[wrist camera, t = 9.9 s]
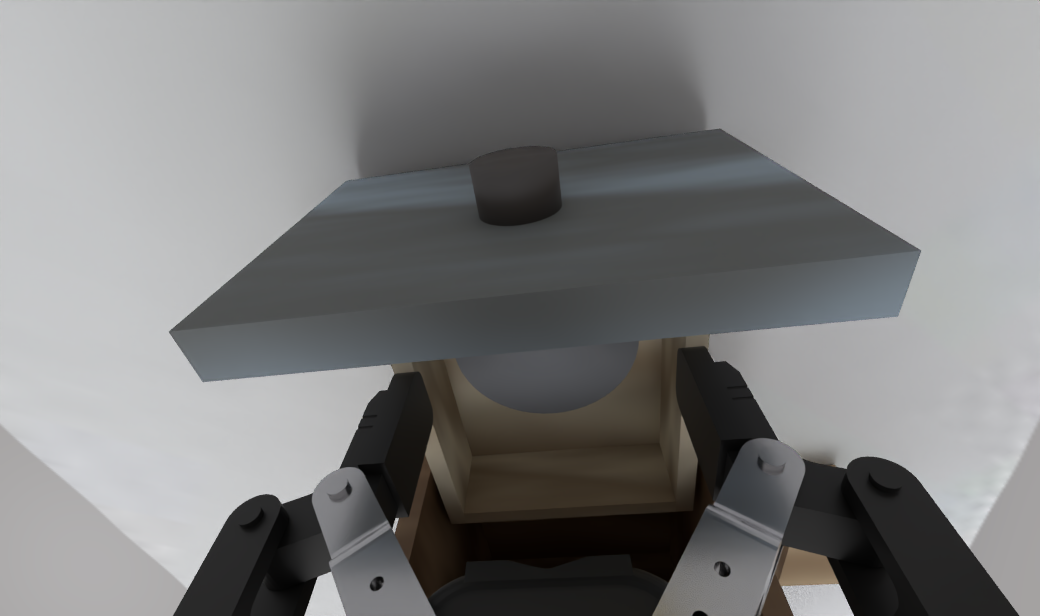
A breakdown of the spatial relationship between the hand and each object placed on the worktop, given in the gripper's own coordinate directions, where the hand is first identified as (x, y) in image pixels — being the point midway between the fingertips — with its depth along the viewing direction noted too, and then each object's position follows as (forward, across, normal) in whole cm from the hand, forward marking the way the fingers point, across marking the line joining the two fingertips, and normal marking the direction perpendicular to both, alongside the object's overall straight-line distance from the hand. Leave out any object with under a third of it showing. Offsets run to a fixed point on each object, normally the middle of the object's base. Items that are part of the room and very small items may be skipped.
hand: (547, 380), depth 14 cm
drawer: (+5, 0, +1) cm, 5 cm away
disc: (+4, 0, 0) cm, 4 cm away
